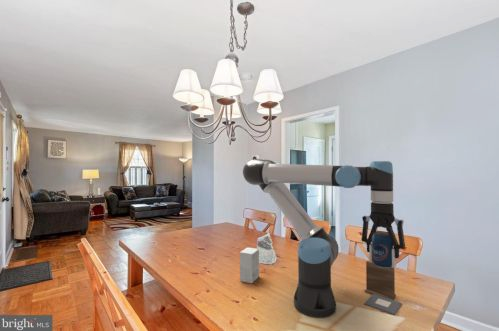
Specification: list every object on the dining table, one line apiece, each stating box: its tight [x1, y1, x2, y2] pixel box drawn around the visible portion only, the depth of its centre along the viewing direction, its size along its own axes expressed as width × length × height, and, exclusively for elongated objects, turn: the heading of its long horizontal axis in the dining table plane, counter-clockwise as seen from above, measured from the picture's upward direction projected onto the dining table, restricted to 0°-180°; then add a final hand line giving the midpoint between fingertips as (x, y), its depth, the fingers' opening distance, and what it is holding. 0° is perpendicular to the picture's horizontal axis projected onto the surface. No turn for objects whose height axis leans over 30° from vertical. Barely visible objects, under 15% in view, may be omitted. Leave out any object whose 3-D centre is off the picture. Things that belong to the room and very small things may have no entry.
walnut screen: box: [364, 260, 397, 300], centre depth 99 cm, size 5×10×12 cm, turn 47°
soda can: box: [372, 230, 394, 268], centre depth 92 cm, size 7×7×12 cm
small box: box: [239, 247, 260, 284], centre depth 113 cm, size 8×6×13 cm
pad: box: [363, 294, 403, 316], centre depth 91 cm, size 10×10×1 cm
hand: (382, 263), depth 92 cm, fingers closed on soda can, 7 cm apart
